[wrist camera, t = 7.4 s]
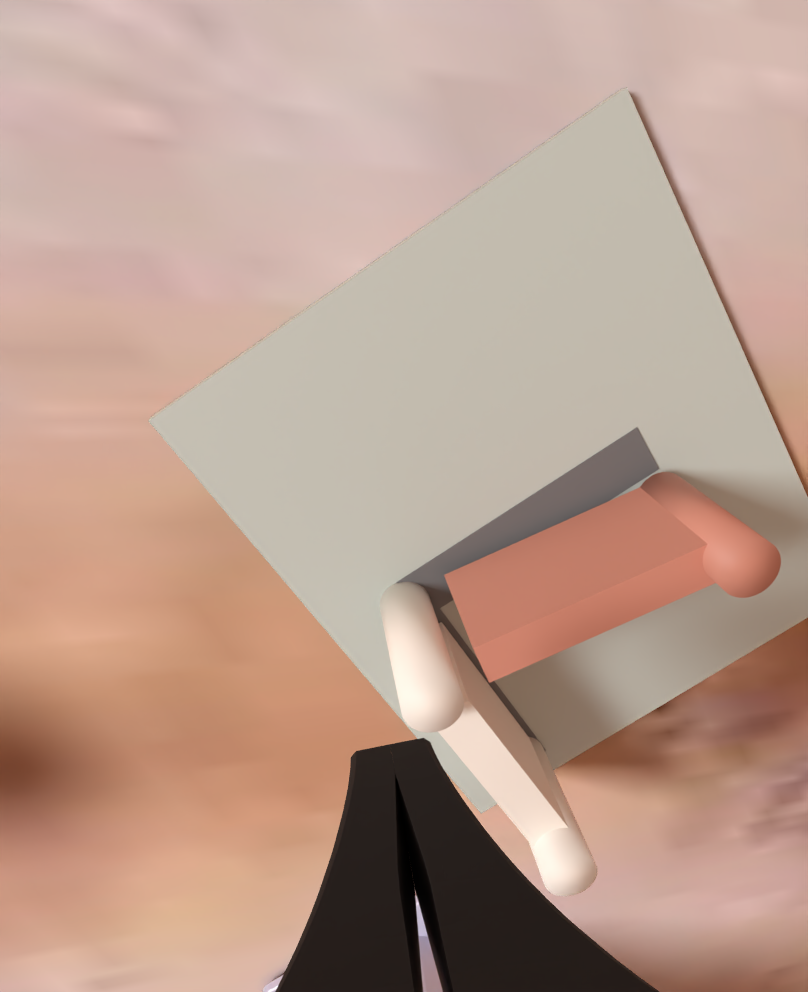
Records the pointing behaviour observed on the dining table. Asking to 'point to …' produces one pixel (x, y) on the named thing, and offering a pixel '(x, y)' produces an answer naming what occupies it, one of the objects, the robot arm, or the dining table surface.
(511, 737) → the fence base
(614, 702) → the card
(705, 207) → the dining table surface
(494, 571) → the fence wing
